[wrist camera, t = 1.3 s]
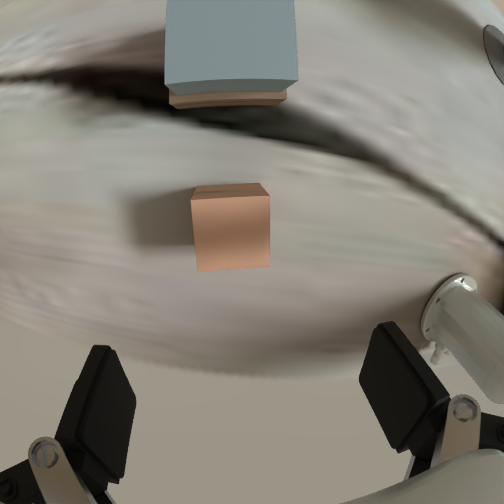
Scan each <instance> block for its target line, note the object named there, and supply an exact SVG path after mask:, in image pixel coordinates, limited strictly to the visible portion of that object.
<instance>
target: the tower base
mask: <svg viewBox="0 0 504 504" xmlns="http://www.w3.org/2000/svg"><path fill="white" fill-rule="evenodd" d="M286 99H287V95H286V89H285V90H283V91H282V92H271V91H239V92H214V93H199V94H188V95H178V96H177V95H176V94H175V93H174V92H172V91H171V90H170V89H169V104H170V105H172V106H174V107H175V108H177V109H178V110H179V109H189V108H200V107H215V106H240V105H277V104H279V103H280V102H282V101H284V100H286Z"/></svg>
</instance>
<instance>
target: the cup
mask: <svg viewBox="0 0 504 504" xmlns="http://www.w3.org/2000/svg"><path fill="white" fill-rule="evenodd" d="M483 38H484V44H485V50H486V52H487V55H488V58H489V61H490V64H491V66H492V67H493V69H494V72H495V74H496V75H497V77H498V78H499V79H500V81H501V82H502V83H503V84H504V34H503V33H502V32H501V31H500V30H499V29H497V28H496V27H495V26H491V25H488V26H487V27H486V28H485V29H484V35H483Z"/></svg>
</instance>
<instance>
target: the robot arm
mask: <svg viewBox="0 0 504 504" xmlns="http://www.w3.org/2000/svg"><path fill="white" fill-rule="evenodd" d="M421 332H422V334H423V335H424V336H425V338H426V339H427V340H429V341H433V342H434V341H435V342H436V344H435V348H436V349H435V351H434V353H433V355H432V357H431V359H430V361H431V363H432V364H435V365H437V364H439V363H440V361H441V359H442V357H443V353H444V354H446V355H449V354H450V353H452V354H453V356H454V357H455V358H456V359H457V360H458V362H459V363H460V364H461V365H462V366H463V368H464V369H465V370H466V371H467V372H468V374H469V375H470V376H471V377H472V379H473V380H474V381H475V382H476V384H477V385H478V386H479V388H480V389H481V390H482V391H483V393H484V394H485V395H486V396H487V398H488V399H490V400H491V401H492V402H494V403H498V404H504V316H503V315H502V314H501V313H500V312H499V311H498V310H497V309H495V308H494V307H493V306H492V305H491V304H490V303H488V302H487V301H486V300H485V299H484V298H482V297H481V296H480V295H479V294H478V293H477V285H476V282H475V279H474V278H473V277H471V276H470V275H468V274H466V273H460V274H457V275H454V276H452V277H451V278H449V279H448V280H447V281H445V282H444V283H443V284H442V285H441V286H440V287H439V288H438V289H437V290H436V292H435V293H434V294H433V296H432V297H431V299H430V300H429V302H428V304H427V306H426V307H425V310H424V312H423V315H422V319H421ZM359 383H360V385H361V387H362V389H363V391H364V393H365V395H366V397H367V399H368V401H369V403H370V405H371V407H372V409H373V411H374V413H375V415H376V417H377V419H378V421H379V423H380V425H381V427H382V429H383V431H384V433H385V435H386V438H387V440H388V442H389V444H390V445H391V447H392V448H393V449H396V451H397V452H398V453H401V452H404V451H406V450H408V449H410V451H411V453H412V456H411V459H410V462H409V465H408V469H407V471H406V474H405V477H404V480H403V482H400V483H398V484H395V485H393V486H390V487H388V488H385V489H383V490H380V491H378V492H375V493H372V494H369V495H366V496H364V497H360V498H357V499H354V500H351V501H348V502H344V503H341V504H504V417H499V416H495V415H491V414H487V413H483V412H481V409H480V406H479V404H478V402H477V401H476V400H475V399H474V398H472V397H471V396H468V395H463V394H461V395H457V396H455V397H453V398H452V399H451V398H450V397H449V396H450V395H449V393H448V392H447V390H446V389H445V387H444V386H443V385H442V383H441V382H440V380H439V379H438V378H437V376H436V375H435V374H434V372H433V371H432V370H431V368H430V367H429V366H428V364H427V363H426V362H425V360H424V359H423V358H422V356H421V355H420V354H419V352H418V351H417V350H416V349H415V347H414V346H413V345H412V344H411V342H410V341H409V340H408V338H407V337H406V336H405V335H404V333H403V332H402V331H401V330H400V328H399V327H398V326H397V325H396V323H394V322H393V321H390V322H385V323H380V324H378V325H377V327H376V328H375V329H374V330H373V333H372V336H371V340H370V343H369V347H368V350H367V353H366V357H365V360H364V363H363V366H362V369H361V372H360V375H359ZM135 408H136V397H135V394H134V392H133V390H132V388H131V386H130V384H129V381H128V379H127V377H126V375H125V373H124V370H123V368H122V366H121V363H120V361H119V358H118V356H117V354H116V351H115V350H112V349H111V347H110V346H108V345H94V346H93V347H92V349H91V351H90V353H89V355H88V358H87V360H86V362H85V365H84V367H83V369H82V371H81V374H80V376H79V378H78V380H77V381H76V382H75V384H74V387H73V389H72V392H71V394H70V397H69V399H68V402H67V404H66V407H65V409H64V412H63V415H62V418H61V420H60V423H59V426H58V429H57V432H56V435H55V438H54V439H53V438H51V437H40V438H38V439H36V440H35V441H34V442H33V443H32V444H31V445H30V448H29V450H28V458H29V459H27V460H25V461H23V462H21V463H19V464H17V465H15V466H13V467H11V468H9V469H6V470H4V471H2V472H0V504H116V503H115V501H114V500H113V498H112V497H111V495H110V494H109V492H108V491H107V486H108V482H111V483H115V484H119V479H120V478H123V476H124V472H125V465H126V458H127V452H128V446H129V439H130V434H131V429H132V423H133V418H134V413H135Z"/></svg>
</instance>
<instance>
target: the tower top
mask: <svg viewBox="0 0 504 504" xmlns="http://www.w3.org/2000/svg"><path fill="white" fill-rule="evenodd" d="M297 81H298V58H297V39H296V22H295V8H294V0H167V11H166V30H165V85H166V86H167V87H168V88H169V89H170V90H171V91H172V92H174V93H175V94H176V95H177V96H178V95H188V94H199V93H214V92H239V91H271V92H282V91H283V90H285V89H286V88H288V87H289V86H291V85H292V84H294V83H295V82H297Z"/></svg>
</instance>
